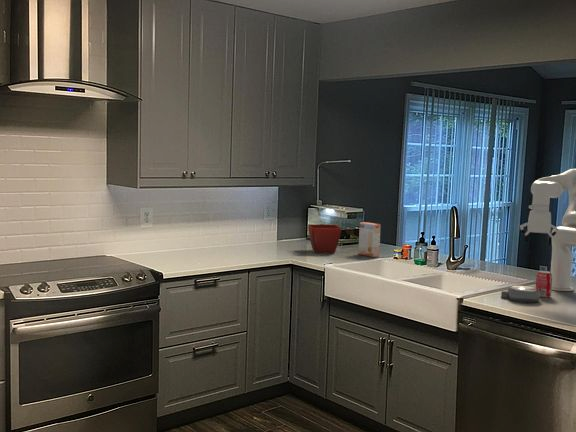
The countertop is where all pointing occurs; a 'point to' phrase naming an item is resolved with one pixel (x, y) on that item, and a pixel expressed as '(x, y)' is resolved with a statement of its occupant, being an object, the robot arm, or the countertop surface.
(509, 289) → the motor housing
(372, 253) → the cracker box
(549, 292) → the soda can
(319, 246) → the plant pot
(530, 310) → the countertop surface
